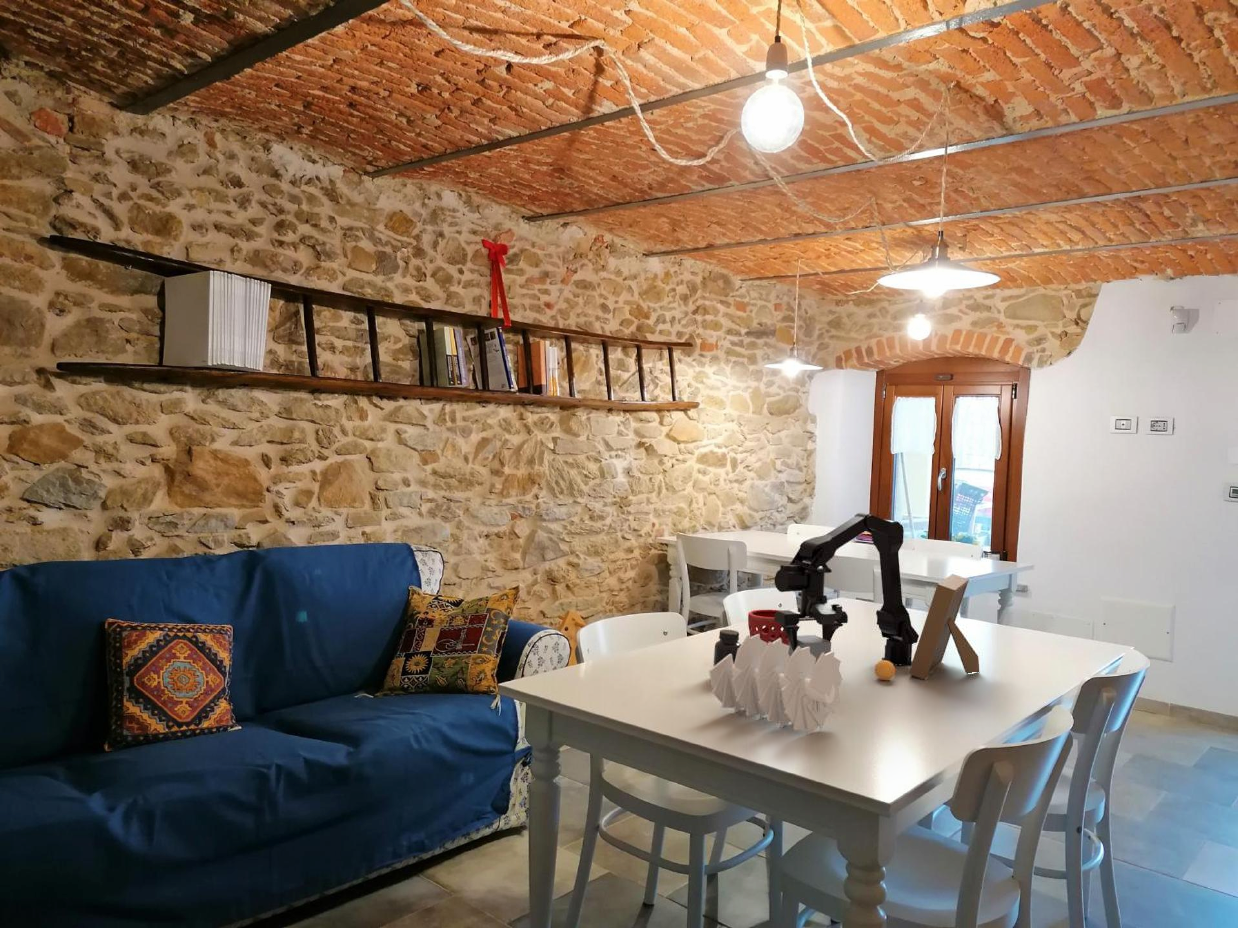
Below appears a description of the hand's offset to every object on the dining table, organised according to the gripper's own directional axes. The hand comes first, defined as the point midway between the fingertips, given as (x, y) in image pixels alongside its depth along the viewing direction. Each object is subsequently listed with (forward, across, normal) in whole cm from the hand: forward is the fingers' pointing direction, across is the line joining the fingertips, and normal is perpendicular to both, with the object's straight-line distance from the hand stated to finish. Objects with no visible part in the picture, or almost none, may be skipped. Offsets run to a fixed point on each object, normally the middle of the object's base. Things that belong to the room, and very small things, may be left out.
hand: (809, 649), depth 220 cm
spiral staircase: (+6, -28, -32) cm, 43 cm away
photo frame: (+6, +37, -8) cm, 38 cm away
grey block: (+6, 0, 0) cm, 6 cm away
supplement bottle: (+6, -24, -1) cm, 25 cm away
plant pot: (+6, -1, +18) cm, 19 cm away
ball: (+4, +16, -10) cm, 19 cm away
